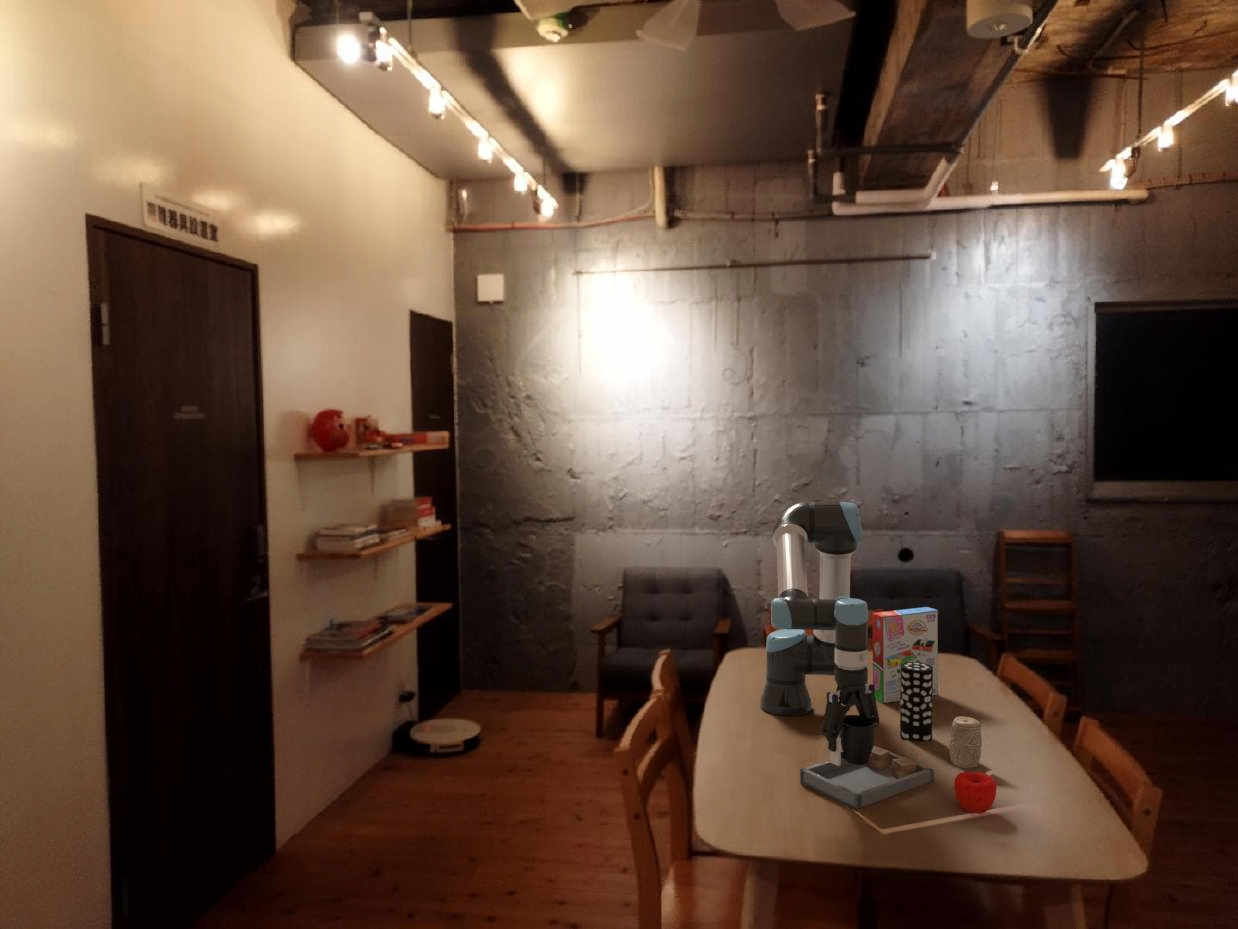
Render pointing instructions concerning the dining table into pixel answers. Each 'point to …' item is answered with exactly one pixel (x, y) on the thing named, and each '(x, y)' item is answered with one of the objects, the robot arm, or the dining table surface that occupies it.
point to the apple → (975, 791)
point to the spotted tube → (916, 701)
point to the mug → (857, 739)
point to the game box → (902, 647)
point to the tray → (860, 781)
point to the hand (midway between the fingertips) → (850, 759)
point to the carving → (965, 742)
